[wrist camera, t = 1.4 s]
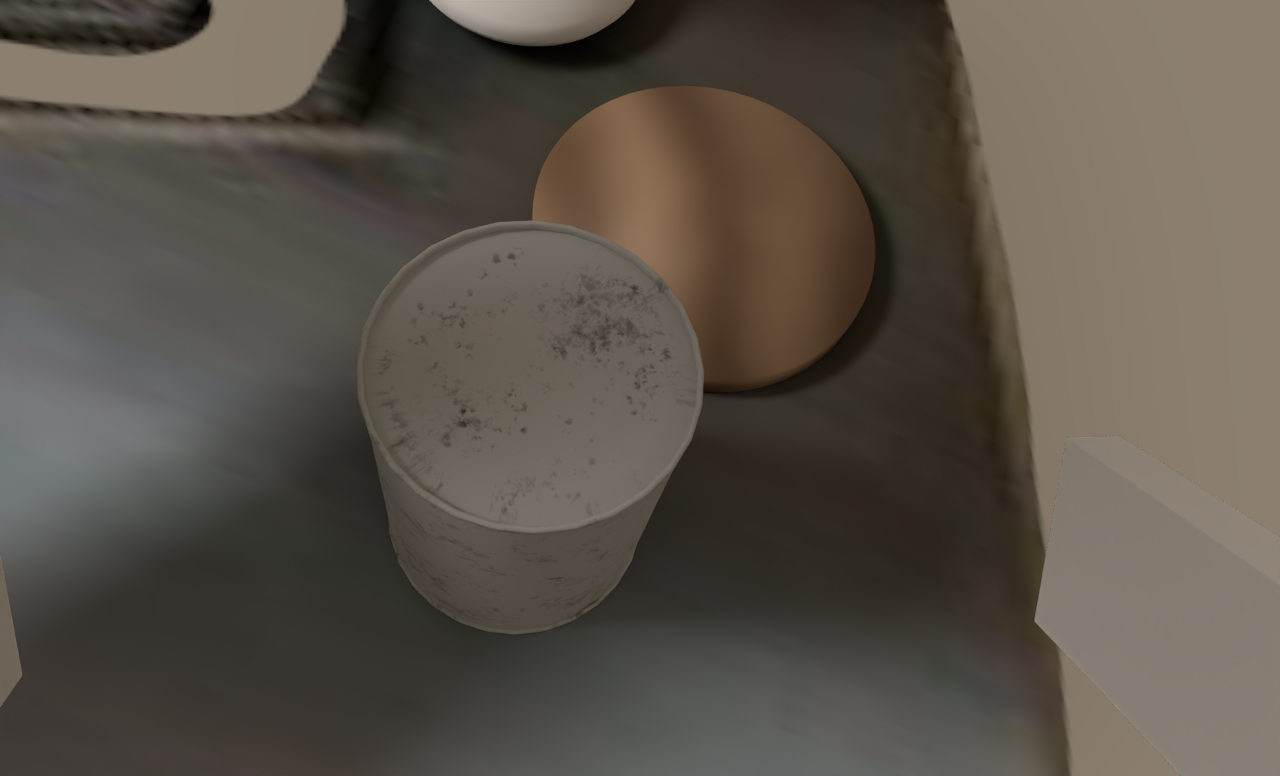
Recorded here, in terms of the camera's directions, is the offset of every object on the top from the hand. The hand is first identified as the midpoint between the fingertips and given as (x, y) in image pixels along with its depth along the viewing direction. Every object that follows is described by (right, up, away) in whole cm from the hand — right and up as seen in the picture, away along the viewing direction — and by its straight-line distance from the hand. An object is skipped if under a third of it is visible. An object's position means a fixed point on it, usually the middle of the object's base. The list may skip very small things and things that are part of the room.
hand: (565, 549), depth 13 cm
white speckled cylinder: (-4, -3, +27) cm, 28 cm away
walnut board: (+4, +9, +33) cm, 35 cm away
